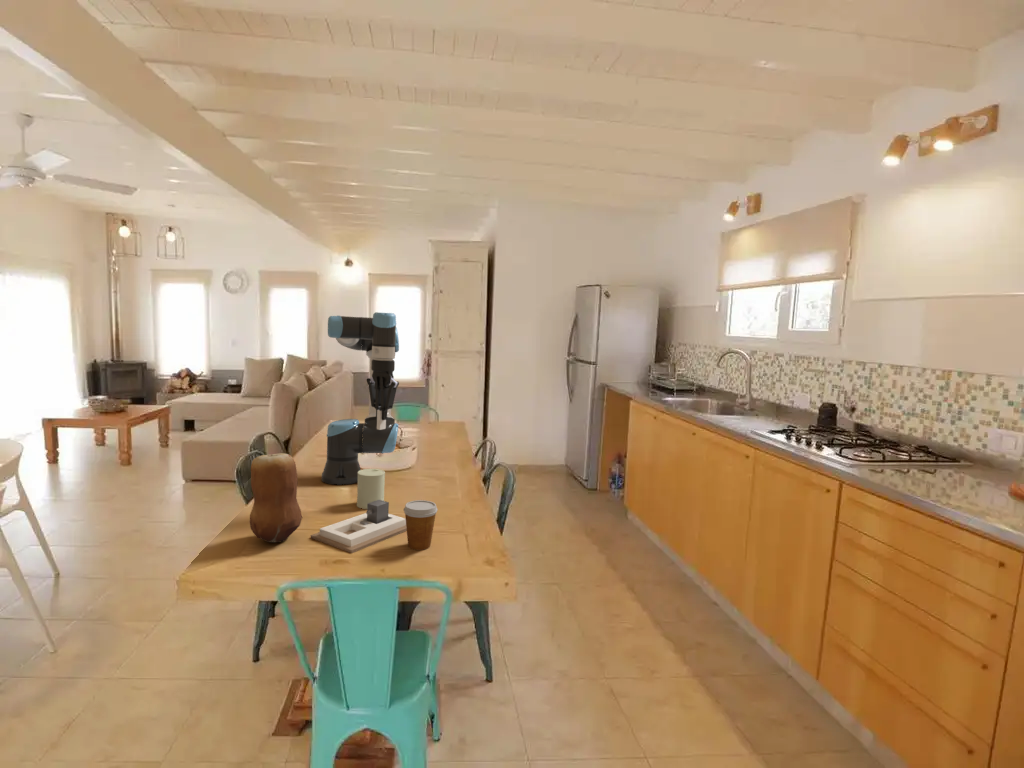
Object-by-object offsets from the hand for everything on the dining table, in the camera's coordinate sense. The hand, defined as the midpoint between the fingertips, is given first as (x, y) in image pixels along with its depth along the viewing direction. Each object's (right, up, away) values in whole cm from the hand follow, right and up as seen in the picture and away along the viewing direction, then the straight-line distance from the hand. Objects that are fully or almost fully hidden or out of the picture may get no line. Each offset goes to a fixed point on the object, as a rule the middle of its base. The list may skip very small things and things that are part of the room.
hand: (381, 428), depth 195 cm
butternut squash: (-22, -29, -32) cm, 49 cm away
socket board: (0, -29, -23) cm, 37 cm away
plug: (+3, -28, -18) cm, 34 cm away
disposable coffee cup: (+18, -31, -30) cm, 47 cm away
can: (-4, -26, +2) cm, 27 cm away
